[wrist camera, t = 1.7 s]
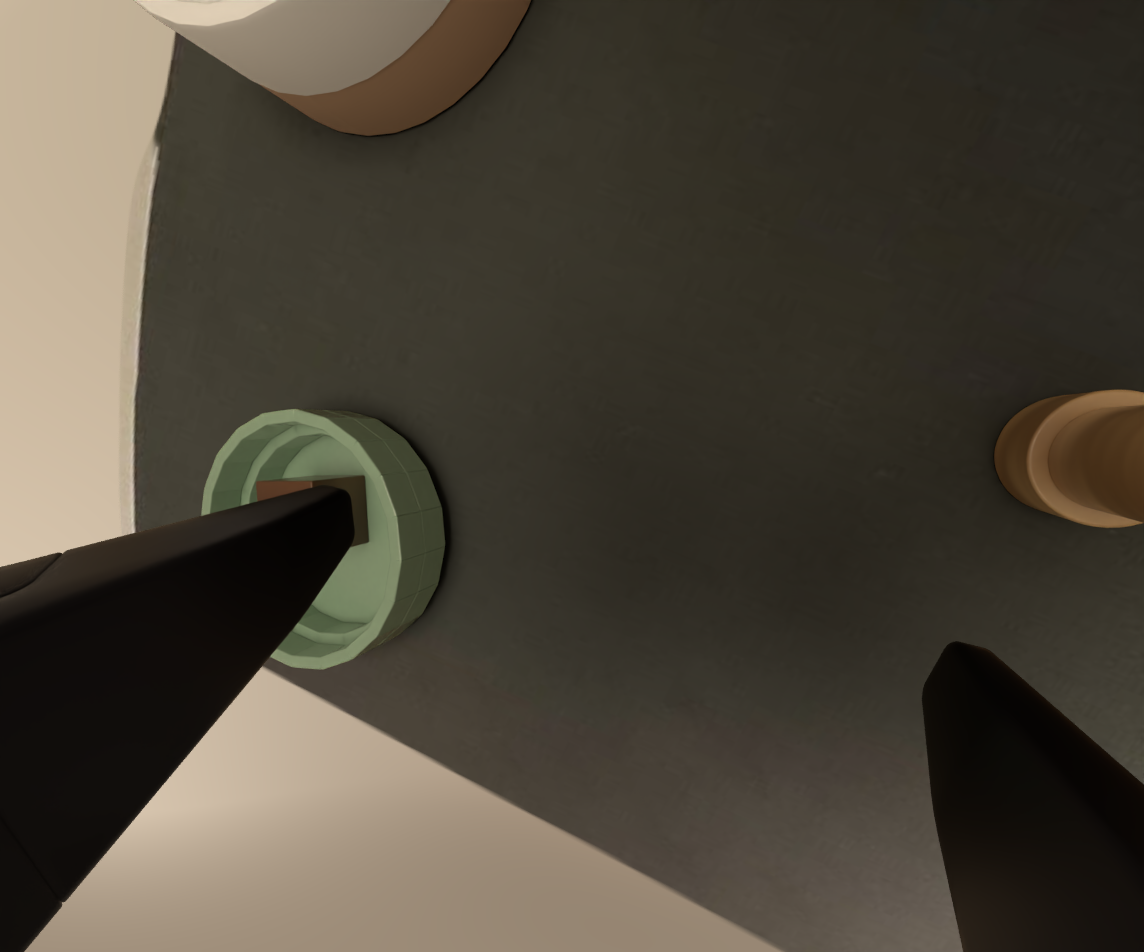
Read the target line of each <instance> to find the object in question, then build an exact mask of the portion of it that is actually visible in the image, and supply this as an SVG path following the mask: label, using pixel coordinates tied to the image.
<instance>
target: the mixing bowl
mask: <svg viewBox="0 0 1144 952" xmlns="http://www.w3.org/2000/svg"><path fill="white" fill-rule="evenodd" d="M315 475H364V476H365V487H366V504H367V521H368V538H369V542H368V543H365V544H361V545H358V546H354V547H350V548H349V550H348V551H347V553H346V554H345V556H344V557H343V559H342V560H341V562H340V563H339V565H338V566H337V568H336V569H335V571H334V572H333V573H332V575H331V576H330V578H329V579H328V581H327V582H326V584H325V585H324V587H323V588H322V590H321V591H320V593H319V594H318V596H317V597H316V599H315V600H314V602H313V603H312V604H311V606H310V607H309V609H308V610H307V611H306V613H305V614H304V616H303V617H302V618H301V620H300V621H299V622H298V624H297V625H296V626H295V627H294V629H293V630H292V631H291V632H290V633H289V635H288V636H287V637H286V638H285V639H284V641H283V642H282V643H281V644H280V645H279V647H278V648H277V649H276V650H275V651H274V653H273V654H272V655H271V656H270V657H271V658H274V659H276V660H278V661H280V662H282V663H284V664H286V665H288V666H290V667H291V666H292V667H297V668H309V669H321V670H322V669H326V668H329V667H332V666H335V665H338V664H341V663H344V662H347V661H350V660H352V659H354V658H356V657H358V656H360V655H362V654H364V653H366V652H367V651H369V650H371V649H373V648H375V647H377V646H379V645H381V644H383V643H385V642H386V641H388V640H390V639H392V638H394V637H396V636H398V635H400V634H401V633H402V632H403V631H404V630H405V629H406V628H407V627H408V626H410V625H411V624H412V623H413V622H414V621H415V620H416V619H417V618H419V617H420V616H421V615H422V613H423V612H424V610H425V608H426V606H427V604H428V602H429V600H430V598H431V597H432V595H433V593H434V591H435V589H436V587H437V585H438V582H439V578H440V572H441V567H442V561H443V556H444V550H445V535H444V524H443V514H442V507H441V503H440V501H439V498H438V495H437V493H436V490H435V487H434V485H433V482H432V480H431V477H430V474H429V472H428V470H427V468H426V466H425V465H424V464H423V462H422V461H421V459H420V458H419V457H418V455H417V454H416V453H415V451H414V450H413V449H412V447H411V446H410V445H409V443H408V442H407V441H406V440H405V439H404V438H403V437H402V436H400V435H399V434H397V433H396V432H395V431H393V430H392V429H390V428H389V427H388V426H386V425H385V424H383V423H382V422H381V421H379V420H377V419H375V418H372V417H368V416H364V415H361V414H357V413H353V412H350V411H335V410H312V409H288V410H281V411H274V412H266V413H262V414H261V415H259V416H257V417H256V418H254V419H253V420H251V421H249V422H248V423H246V424H244V425H243V426H241V427H239V428H238V429H237V430H236V431H235V432H234V433H233V435H232V436H231V437H230V438H229V440H228V441H227V442H226V444H225V445H224V446H223V447H222V449H221V450H220V451H219V453H218V454H217V456H216V458H215V461H214V463H213V466H212V469H211V471H210V474H209V477H208V479H207V482H206V485H205V488H204V494H203V504H202V513H201V516H203V515H207V514H210V513H214V512H218V511H222V510H226V509H230V508H234V507H238V506H242V505H245V504H249V503H253V502H257V490H256V482H257V481H261V480H272V479H282V478H292V477H303V476H315Z"/></svg>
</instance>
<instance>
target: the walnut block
mask: <svg viewBox="0 0 1144 952" xmlns="http://www.w3.org/2000/svg"><path fill="white" fill-rule="evenodd" d="M319 485H329V486H333V487H337V488H341V489H344V490H346V491H347V492H348V493H349V495H350V496H351V502H352V510H353V519H354V527H355V536H354V540H353V543H352V545H351V547H354V546H358V545H361V544H365V543H368V542H369V538H368V521H367V504H366V487H365V476H364V475H315V476H303V477H292V478H282V479H272V480H261V481H257V482H256V490H257V501H261V500H265V499H269V498H273V497H277V496H280V495H284V494H288V493H292V492H296V491H300V490H304V489H308V488H312V487H316V486H319Z"/></svg>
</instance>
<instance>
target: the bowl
mask: <svg viewBox="0 0 1144 952" xmlns="http://www.w3.org/2000/svg"><path fill="white" fill-rule="evenodd" d="M134 1H135V2H136V3H137V4H139V5H140V6H141V7H142V8H143V9H145V10H146V11H147V12H148V13H149V14H151V15H152V16H153V17H154V18H156V19H157V20H159V21H160V22H162V23H163V24H165V25H166V26H168V27H170V28H171V29H173V30H174V31H176V32H177V33H179V34H180V35H182V36H183V37H185V38H187V39H188V40H190V41H191V42H193V43H194V44H196V45H197V46H199V47H200V48H202V49H204V50H205V51H207V52H208V53H210V54H211V55H213V56H214V57H216V58H217V59H219V60H221V61H222V62H224V63H225V64H227V65H228V66H230V67H231V68H233V69H234V70H236V71H237V72H239V73H241V74H242V75H244V76H245V77H247V78H248V79H250V80H251V81H253V82H256V83H258V84H259V85H261V86H262V87H264V88H265V89H267V90H268V91H270V92H272V93H273V94H275V95H276V96H278V97H279V98H281V99H282V100H284V101H285V102H287V103H288V104H290V105H292V106H293V107H295V108H296V109H298V110H299V111H301V112H302V113H304V114H305V115H307V116H308V117H310V118H312V119H313V120H315V121H317V122H319V123H321V124H323V125H325V126H328V127H330V128H332V129H334V130H337V131H339V132H345V133H352V134H358V135H365V136H372V135H381V134H390V133H397V132H399V131H402V130H405V129H408V128H410V127H413V126H416V125H419V124H421V123H424V122H426V121H428V120H429V119H431V118H432V117H434V116H436V115H437V114H439V113H440V112H442V111H444V110H445V109H447V108H448V107H450V106H452V105H453V104H454V103H455V102H457V101H458V100H459V99H460V98H461V97H462V96H463V95H464V94H465V93H466V92H467V91H469V90H470V89H471V88H472V87H473V86H474V85H475V84H476V83H477V82H478V81H479V80H481V78H482V77H483V76H484V75H485V73H486V72H487V71H488V70H489V68H490V67H491V66H492V64H493V63H494V62H495V61H496V59H497V58H498V57H499V56H500V54H501V53H502V52H503V50H504V49H505V48H506V46H507V45H508V43H509V41H510V39H511V38H512V36H513V34H514V32H515V31H516V29H517V27H518V25H519V23H520V22H521V20H522V18H523V16H524V15H525V13H526V11H527V9H528V7H529V4H530V1H531V0H134Z"/></svg>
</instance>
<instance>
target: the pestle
mask: <svg viewBox="0 0 1144 952" xmlns="http://www.w3.org/2000/svg"><path fill="white" fill-rule="evenodd" d="M994 460H995V467H996V471H997V474H998V477H999V479H1000V481H1001V482H1002V484H1003V486H1004V487H1005V488H1006V489H1007V491H1008V492H1009V493H1010V494H1011V495H1012V496H1014V497H1015V498H1016V499H1017V500H1019V501H1020V502H1022V503H1024V504H1025V505H1027V506H1029V507H1032V508H1034V509H1036V510H1039V511H1043V512H1046V513H1049V514H1052V515H1055V516H1058V517H1061V518H1064V519H1067V520H1070V521H1073V522H1077V523H1080V524H1084V525H1088V526H1094V527H1103V528H1119V527H1127V526H1133V525H1137V524H1141V523H1144V393H1143V392H1138V391H1132V390H1103V391H1095V392H1087V393H1079V394H1071V395H1063V396H1056V397H1051V398H1047V399H1044V400H1041V401H1038V402H1036V403H1033V404H1031V405H1029V406H1028V407H1026V408H1024V409H1023V410H1021V411H1020V412H1019V413H1017V414H1016V415H1015V416H1014V417H1013V418H1012V419H1011V420H1010V421H1009V422H1008V423H1007V424H1006V426H1005V427H1004V428H1003V430H1002V432H1001V433H1000V435H999V438H998V440H997V443H996V447H995V454H994Z"/></svg>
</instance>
